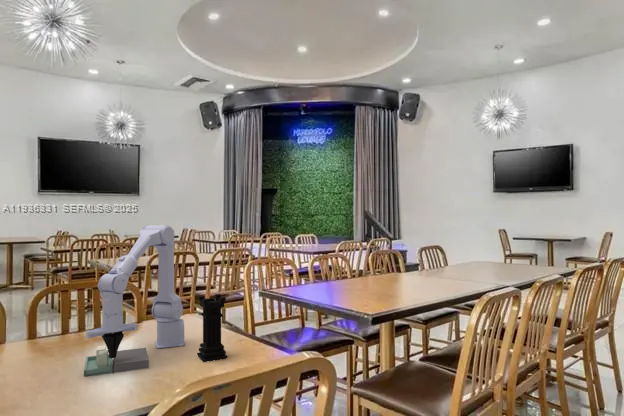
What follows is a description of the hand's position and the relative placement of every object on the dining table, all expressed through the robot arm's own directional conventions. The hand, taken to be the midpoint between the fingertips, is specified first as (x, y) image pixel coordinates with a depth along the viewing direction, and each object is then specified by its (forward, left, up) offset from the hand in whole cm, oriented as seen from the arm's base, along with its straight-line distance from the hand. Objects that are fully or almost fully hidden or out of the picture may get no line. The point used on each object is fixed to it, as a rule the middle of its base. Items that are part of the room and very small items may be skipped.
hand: (112, 357), depth 140 cm
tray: (+4, -4, -4) cm, 7 cm away
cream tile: (+2, -7, -1) cm, 7 cm away
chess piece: (-30, 0, -4) cm, 31 cm away
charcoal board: (-5, -4, -4) cm, 7 cm away
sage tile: (+1, -2, -1) cm, 2 cm away
